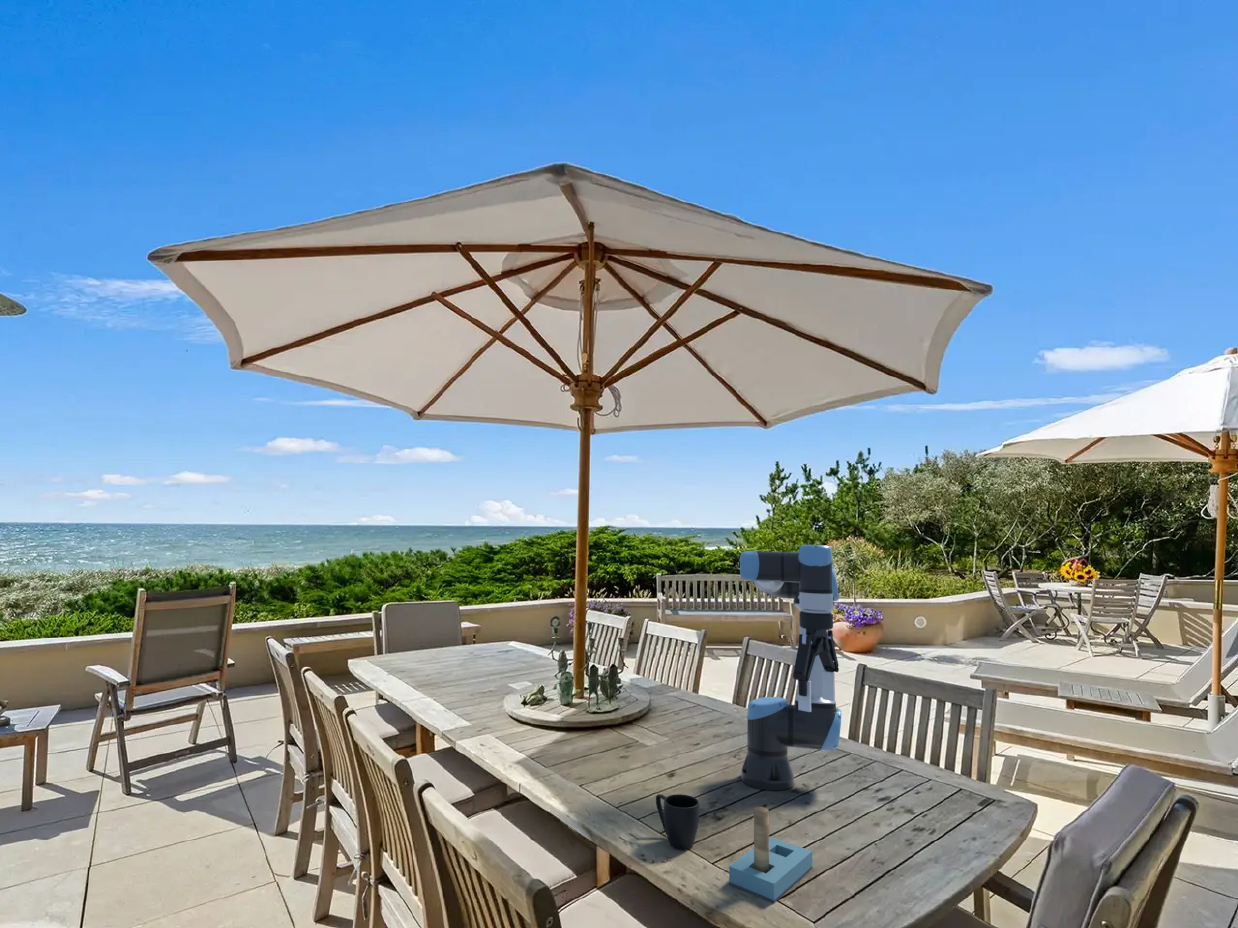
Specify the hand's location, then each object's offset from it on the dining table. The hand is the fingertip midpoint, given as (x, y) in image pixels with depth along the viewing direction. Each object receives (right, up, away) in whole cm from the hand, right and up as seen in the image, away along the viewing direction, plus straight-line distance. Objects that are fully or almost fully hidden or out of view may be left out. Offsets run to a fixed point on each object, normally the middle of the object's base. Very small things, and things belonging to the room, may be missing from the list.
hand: (817, 705), depth 147 cm
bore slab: (-14, -31, -13) cm, 36 cm away
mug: (-33, -33, +2) cm, 46 cm away
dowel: (-16, -30, -16) cm, 38 cm away
